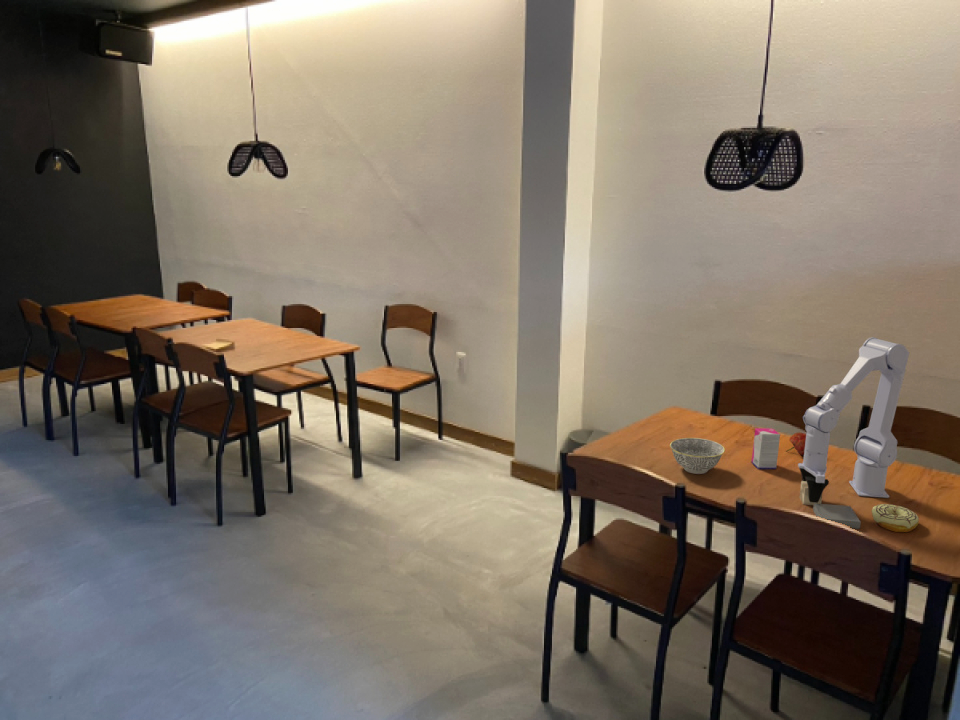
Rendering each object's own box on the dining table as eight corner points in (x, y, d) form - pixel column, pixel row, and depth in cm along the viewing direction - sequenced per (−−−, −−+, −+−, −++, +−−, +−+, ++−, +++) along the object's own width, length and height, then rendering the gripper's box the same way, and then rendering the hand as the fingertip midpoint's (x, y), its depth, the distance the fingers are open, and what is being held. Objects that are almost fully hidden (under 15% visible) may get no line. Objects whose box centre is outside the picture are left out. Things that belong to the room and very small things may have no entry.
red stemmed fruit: (790, 463, 228) (820, 449, 223) (777, 443, 229) (806, 429, 224) (793, 458, 234) (821, 444, 229) (780, 438, 235) (808, 424, 231)
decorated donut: (868, 527, 181) (870, 514, 181) (872, 511, 190) (874, 498, 189) (916, 538, 176) (918, 524, 175) (917, 520, 185) (919, 507, 184)
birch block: (799, 497, 198) (801, 481, 197) (816, 498, 197) (818, 482, 196) (803, 504, 194) (805, 487, 193) (820, 506, 193) (822, 489, 192)
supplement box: (777, 469, 217) (780, 434, 214) (757, 469, 217) (761, 434, 214) (769, 462, 223) (773, 427, 220) (750, 462, 223) (754, 427, 220)
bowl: (662, 474, 214) (664, 450, 212) (675, 456, 228) (676, 434, 226) (717, 484, 207) (719, 460, 205) (726, 465, 221) (728, 442, 219)
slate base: (813, 510, 191) (813, 503, 190) (849, 513, 189) (850, 506, 188) (821, 525, 182) (822, 518, 182) (859, 528, 180) (860, 521, 180)
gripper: (794, 440, 200) (789, 484, 203) (806, 459, 186) (801, 507, 189) (821, 441, 198) (815, 486, 202) (835, 461, 184) (829, 509, 188)
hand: (810, 496), depth 195 cm, fingers open, 6 cm apart
